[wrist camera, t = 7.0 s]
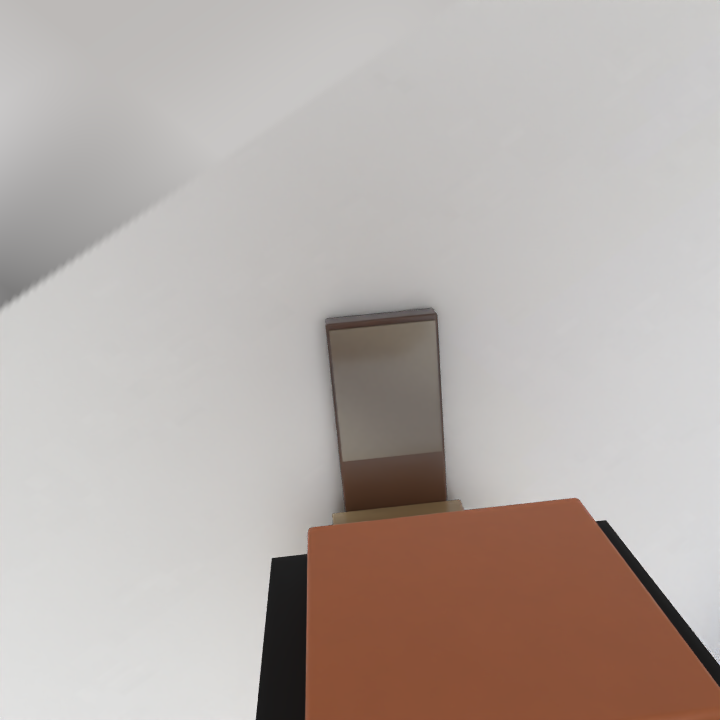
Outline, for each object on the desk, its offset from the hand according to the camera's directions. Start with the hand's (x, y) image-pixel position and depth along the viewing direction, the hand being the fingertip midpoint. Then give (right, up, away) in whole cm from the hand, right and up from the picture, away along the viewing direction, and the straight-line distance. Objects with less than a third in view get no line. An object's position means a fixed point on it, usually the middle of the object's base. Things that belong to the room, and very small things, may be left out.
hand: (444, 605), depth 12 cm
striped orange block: (0, 0, 0) cm, 1 cm away
